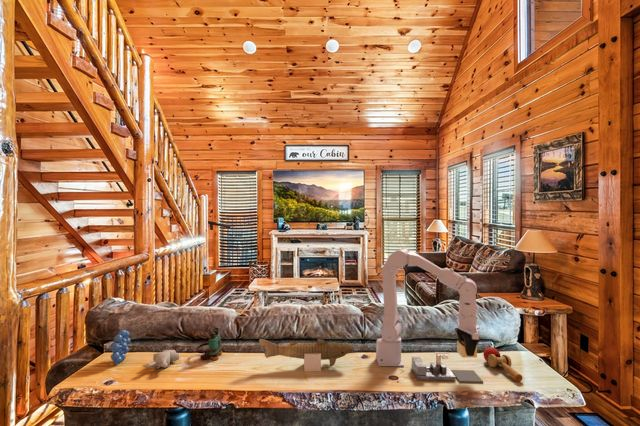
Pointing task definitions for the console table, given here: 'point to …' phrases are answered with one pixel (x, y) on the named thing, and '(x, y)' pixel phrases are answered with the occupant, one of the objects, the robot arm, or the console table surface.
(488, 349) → the kendama
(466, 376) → the rubber mat
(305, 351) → the wood carving
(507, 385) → the console table surface
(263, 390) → the console table surface
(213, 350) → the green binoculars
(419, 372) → the gray fixture base
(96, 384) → the console table surface
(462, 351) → the wooden hollow block
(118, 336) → the grapes
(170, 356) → the bunny figurine
